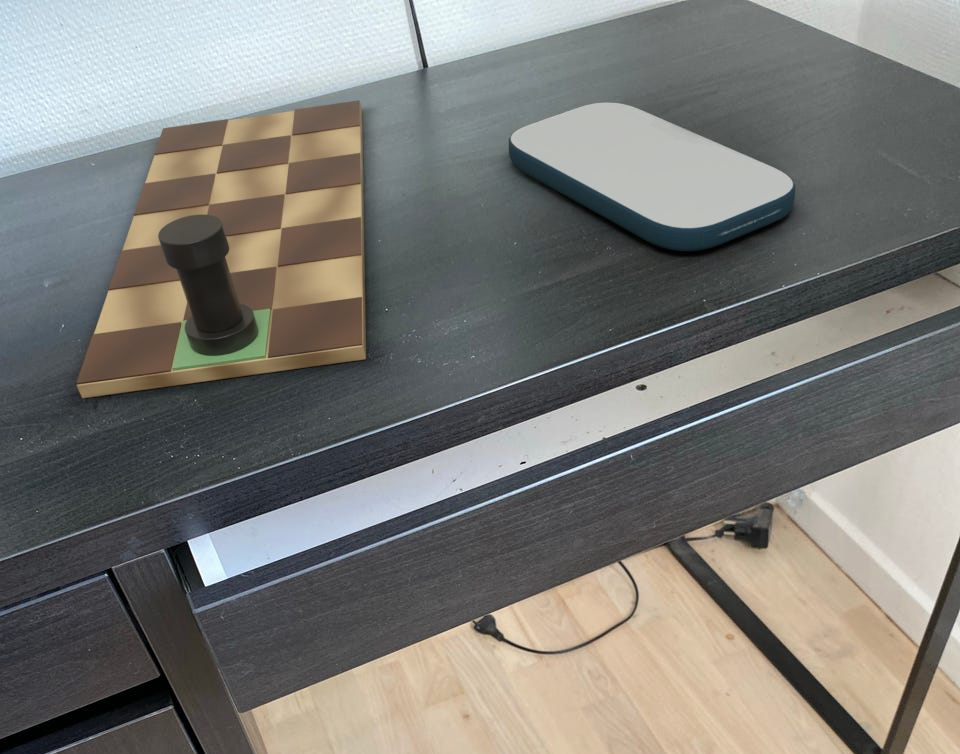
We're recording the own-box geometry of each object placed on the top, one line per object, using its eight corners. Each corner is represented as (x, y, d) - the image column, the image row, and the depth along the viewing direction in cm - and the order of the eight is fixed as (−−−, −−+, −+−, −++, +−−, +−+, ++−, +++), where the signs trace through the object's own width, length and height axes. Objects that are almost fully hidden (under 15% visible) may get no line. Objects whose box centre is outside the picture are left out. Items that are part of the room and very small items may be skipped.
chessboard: (82, 399, 64) (75, 383, 63) (166, 140, 93) (162, 128, 92) (366, 359, 64) (363, 343, 63) (362, 112, 92) (360, 99, 92)
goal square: (173, 370, 63) (172, 368, 63) (183, 323, 67) (182, 320, 67) (265, 358, 63) (264, 355, 63) (270, 311, 67) (270, 308, 67)
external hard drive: (494, 162, 82) (491, 136, 80) (611, 120, 85) (610, 94, 84) (680, 268, 67) (682, 239, 66) (813, 213, 71) (817, 184, 69)
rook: (186, 360, 63) (147, 251, 58) (194, 324, 66) (157, 217, 61) (256, 350, 63) (223, 240, 58) (260, 315, 66) (230, 207, 61)
